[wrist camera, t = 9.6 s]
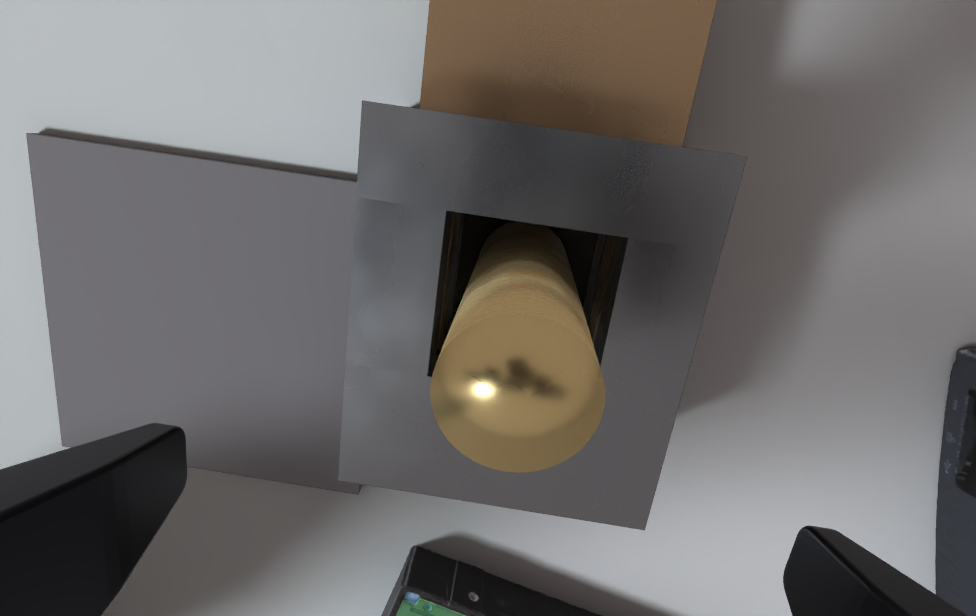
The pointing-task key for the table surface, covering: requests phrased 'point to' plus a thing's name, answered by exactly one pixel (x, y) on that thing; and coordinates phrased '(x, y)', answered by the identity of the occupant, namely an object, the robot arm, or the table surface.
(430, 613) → the disk drive
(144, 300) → the rubber mat
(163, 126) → the table surface
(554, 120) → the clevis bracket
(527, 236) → the brass pin
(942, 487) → the external hard drive
